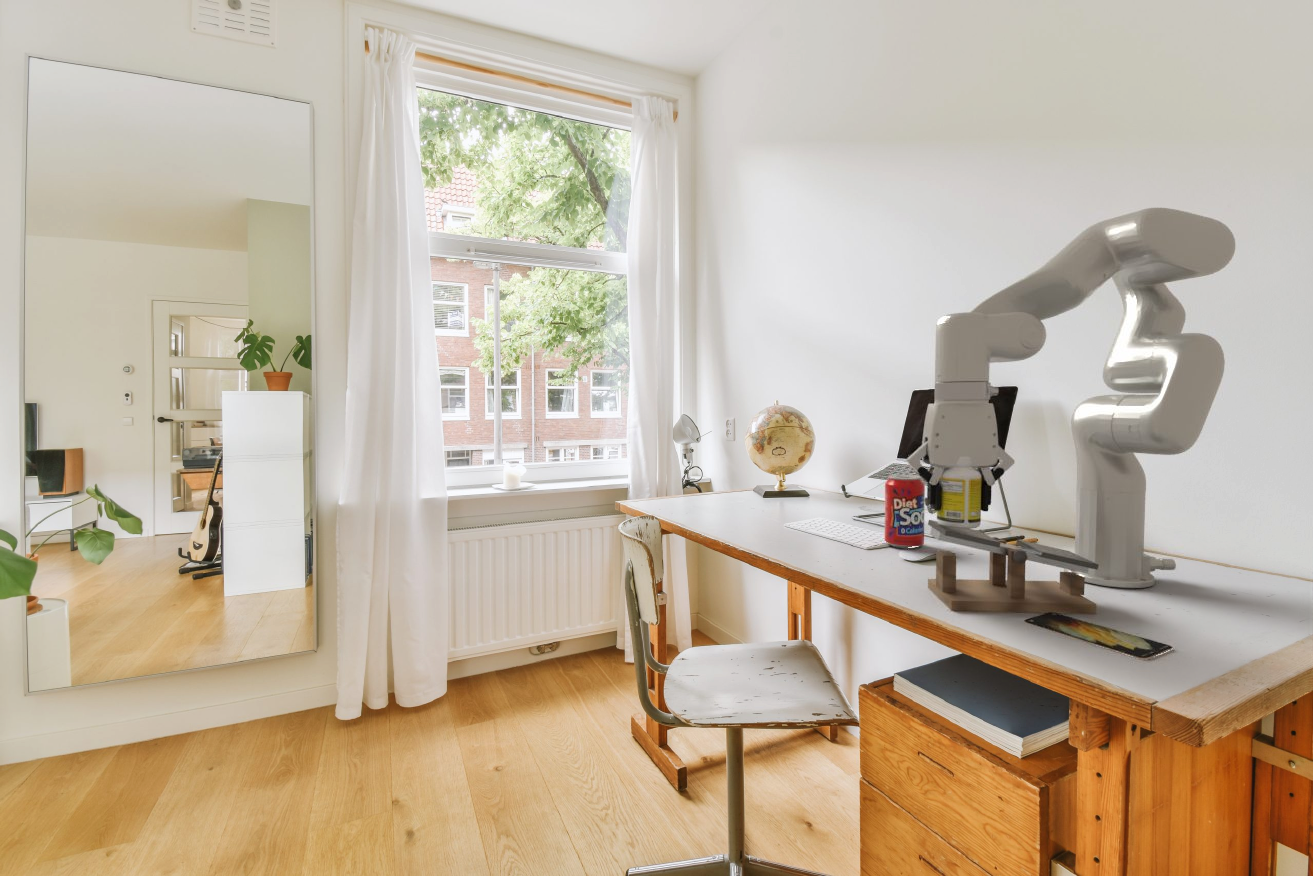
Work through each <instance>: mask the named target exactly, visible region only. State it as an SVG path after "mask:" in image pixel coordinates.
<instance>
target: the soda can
mask: <svg viewBox="0 0 1313 876" xmlns="http://www.w3.org/2000/svg"><path fill="white" fill-rule="evenodd" d="M925 488H926V485H925V484H924V482H923V480H922V477H921V476H920V475H912V474H892V475H888V479H887V480H886V482H885V485H884V541H886V543H887V542H888V543H889V544H888V543H887V544H888V545H889V546H890V547H893V548H897V549H904V548H908V547H912V546H919V547H921V546H923V545H924V543H925V509H926V508H925V507H926V506H925V503H926V501H925V499H926V497H925V495H926V494H925V493H926V491H925Z"/></svg>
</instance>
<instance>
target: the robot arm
mask: <svg viewBox="0 0 1313 876" xmlns="http://www.w3.org/2000/svg"><path fill="white" fill-rule="evenodd" d="M1235 250H1236V239H1235V237H1234V233H1233V232H1232V231H1231V229H1230V228H1229V227H1228V226H1227V225H1226V224H1225V223H1223V222H1221V221H1220V220H1217V219H1214V218H1211V217H1208V216H1204V215H1199V214H1196V213H1193V212H1188V211H1184V210H1180V209H1174V208H1170V207H1169V208H1167V207H1148V208H1147V207H1146V208H1144V209H1140V210H1138V211H1134V212H1130V213H1126V214H1124V215H1123V214H1122V215H1120V216H1116V217H1113V218H1108V219H1105V220H1102V221H1100V222H1097V223H1094V224H1092V225H1090V226H1089V227H1087V228H1086V229H1084V230H1083V231H1082V232H1080V233H1079V234H1078V235H1077V236H1075V238H1073V240H1071V241H1070V242H1069V243H1068V244H1066V246H1064V247H1063V248H1062V249H1061V250H1060V251H1059V252H1058V253H1057V254H1055V255H1054V256H1053V257H1051V259H1049V261H1047V262H1046V263H1045V264H1044V265H1042V266H1041V267H1039V268H1038V269H1037V270H1035V271H1034V272H1031V273H1030V274H1027V275H1026V276H1024V277H1022V278H1020V279H1019V280H1016V282H1013V283H1011V284H1009V286H1007V287H1005V288H1004V289H1001V290H1000V291H998V292H996V293H995V294H993V295H991V296H989V297H988V298H986V299H985V300H983V301H982V302H981V303H979V304H978V305H976V307H974V308H973V309H972V310H971V311H969V312H967V311H966V312H956V313H955V312H954V313H950V314H949V313H948V314H946V315H943V316H941V317H940V318H939V319H938V320H937V322H936V324H935V351H934V352H935V357H934V399H933V400H934V403H928V405H927V409H926V413H925V418H924V426H923V433H922V441H921V445H920V446H919V447H918V448H917V449H916V450H915V451H914V452H913V453H911V454H910V455H909V456H908V457H907V458H906V463H907V465H909V466H910V467H911V468H912V470H914V471H915V472H916V474H918V476H920V477H921V479H923V481H924V482H925V483H926V485H927V486H926V487H927V489H926V500H927V501H926V502H927V505H929V508H930V509H932V510H934V511H935V512H937V511H940V510H941V490H942V487H941V485H939V479H940V477H941V475H942V473H943V471H944V468H953V467H957V461H958V460H959V458H960V457H970V459H971V461H972V464H971V465H972V466H971V467H972V468H975V469H976V470H978V471H979V472H980V474H981V512H988V511H989V506H991V505H992V488H993V487H992V486H994V485H995V484H996V481H998V479H1001V477H1002V476H1003V475H1004V474H1005V472H1007V471H1008V470H1009V469H1010V468H1011V467H1012V466H1013V465H1014V464H1015V460H1014V458H1012V456H1011V455H1009V454H1008V453H1007V451H1005V450H1004V449H1003V448H1002V447H1001V446H1000V445H999V437H998V436H999V434H998V423H997V418H996V412H995V406H994V404H993V402H991V403H989V400H991V397H993V396H998V394H999V391H1000V390H999V387H998V386H993V385H992V384H991V382H990V364H993V363H1012V362H1020V361H1023V360H1027V359H1029V358H1032V357H1033V356H1035V355H1036V354H1038V353H1039V352H1040V351H1041V349H1043V347H1044V345H1045V342H1046V340H1047V330H1046V327H1045V324H1044V322H1043V320H1048V319H1050V318H1053V317H1056V316H1057V317H1058V316H1059V315H1061V314H1064V313H1066V312H1069V311H1071V310H1073V309H1075V308H1077V307H1079V306H1081V305H1082V304H1083V303H1085V301H1087V300H1088V299H1089V298H1090V297H1091V296H1092V295H1093V294H1094V293H1095V292H1097V290H1099V288H1101V286H1103V285H1104V284H1105V283H1106V282H1107V281H1109V280H1110V279H1112V281H1113V282H1114V285H1115V287H1116V289H1117V291H1118V293H1119V296H1120V299H1121V301H1122V305H1123V316H1122V319H1121V321H1120V325H1119V327H1118V330H1117V332H1116V335H1115V338H1114V340H1113V342H1112V345H1111V347H1110V350H1109V352H1108V354H1107V357H1106V360H1105V362H1104V365H1103V368H1102V369H1103V370H1102V379H1103V383H1104V384H1105V385H1106V387H1108V388H1109V389H1111V390H1113V391H1114V392H1115V391H1116V392H1120V393H1125V394H1105V395H1096V396H1092V397H1090V398H1087V399H1085V400H1083V401H1081V402H1080V403H1078V405H1077V406H1076V407H1075V408H1074V410H1073V412H1072V415H1071V419H1070V425H1071V426H1070V427H1071V429H1070V430H1071V433H1072V438H1073V439H1072V440H1073V443H1074V448H1075V454H1076V456H1075V457H1076V491H1075V492H1076V494H1075V496H1076V499H1075V527H1074V529H1075V531H1074V539H1075V540H1074V554H1077V555H1079V556H1081V557H1083V558H1085V559H1088V560H1090V561H1092V562H1094V563H1096V564H1099V566H1098V570H1096V569H1091V568H1089V570H1088V573H1087V574H1086V573H1082V572H1078V571H1073V570H1069V569H1064V568H1063V572H1075V573H1077V574H1079V575H1080V576H1082V577H1084V578H1085V583H1088V584H1093V585H1098V586H1103V587H1111V588H1119V589H1121V588H1122V589H1145V588H1149V587H1152V586H1154V585H1155V583H1156V581H1155V580H1156V579H1155V575H1153V574H1151V572H1153V573H1154V572H1155V571H1156V570H1161V571H1175V570H1176V567H1177V563H1176V561H1175V560H1174V559H1173V558H1157V557H1156V556H1151V555H1148V554H1146V553H1144V550H1145V549H1144V548H1145V520H1146V518H1145V517H1146V491H1147V479H1146V473H1145V471H1144V468H1143V466H1142V465H1141V462H1140V461H1139V459H1138V457H1136V454H1146V455H1160V456H1161V455H1163V456H1171V455H1172V456H1175V455H1179V454H1182V453H1185V452H1187V451H1188V450H1190V449H1192V447H1193V446H1194V445H1195V443H1197V441H1198V439H1199V438H1200V435H1201V433H1202V431H1203V428H1204V426H1205V424H1206V421H1207V418H1208V416H1209V413H1210V411H1211V408H1212V407H1213V406H1212V405H1213V402H1214V401H1215V398H1216V396H1217V392H1218V391H1219V388H1220V385H1221V383H1222V379H1223V377H1224V373H1225V363H1226V361H1225V354H1224V351H1223V348H1222V346H1221V344H1220V343H1219V342H1218V340H1217V339H1216V338H1215V337H1212V336H1211V335H1208V334H1205V333H1200V332H1187V333H1182V331H1183V328H1184V326H1185V322H1186V316H1187V315H1186V310H1185V308H1184V306H1183V305H1182V303H1181V302H1180V301H1179V299H1178V298H1177V296H1175V295H1174V294H1173V293H1172V292H1171V290H1170V288H1169V287H1168V286H1167V285H1166V283H1171V282H1177V281H1182V280H1183V281H1184V280H1189V279H1190V280H1191V279H1195V278H1200V277H1201V278H1202V277H1205V276H1210V275H1213V274H1215V273H1218V272H1219V271H1221V270H1222V269H1224V268H1226V266H1227V265H1229V263H1230V262H1231V261H1232V259H1233V257H1234V255H1235ZM1126 393H1128V394H1126ZM921 460H922V462H923V463H925V464H928V465H929V468H928V469H927V468H926V467H925V466H924V465H923V464H922V463H921ZM998 460H999V462H998Z"/></svg>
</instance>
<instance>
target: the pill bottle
mask: <svg viewBox="0 0 1313 876" xmlns="http://www.w3.org/2000/svg"><path fill="white" fill-rule="evenodd" d="M971 464H972V461H971V459H970V457H960V458H959V460H958V461H957V467H953V468H944V471H943V473H942V475H941V477H940V479H939V485H941V487H942V490H941V510H940V511H936V521H937V522H938V523H939V524H940V525H942V526H945V527H950V528H962V529H976V528H978V527H980V526H981V520H982V518H981V517H982V516H981V515H982V510H981V474H980V472H979V471H978V470H976V469H975V468H972V467H971V466H972V465H971Z"/></svg>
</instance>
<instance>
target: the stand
mask: <svg viewBox="0 0 1313 876" xmlns="http://www.w3.org/2000/svg"><path fill="white" fill-rule="evenodd" d="M991 538H993V539H995V540H997V541H999V542H1001V543H1005V544H1007V541H1006V540H1005V539H1000V538H999V537H997V536H996V537H995V536H994V537H991ZM935 554H936V556H935V557H936V558H935V560H936V561H935V578H927V588H928V589H929V591H931V592H932V593H933V594H934V595H935V596H936V597H937V598H938V599H939V600H940V602H942V603H943V604H944V605H945V606H946V607H947V608H949V610H950V611H954V612H955V611H956V612H957V611H958V612H995V613H996V612H999V613H1002V612H1003V613H1033V614H1034V613H1035V614H1036V613H1039V614H1041V613H1043V614H1045V613H1049V612H1053V613H1058V614H1078V615H1079V614H1081V615H1083V614H1084V615H1096V614H1097V602H1096V603H1095V602H1094V601H1091V600H1090V599H1088V598H1086V597H1085V583H1086V582H1085V578H1084V577H1082V576H1080V575H1079V574H1077V573H1075V572H1064V571H1059V582H1058V581H1056V580H1026V561H1028V560H1027V554H1026V551H1024V550H1022V549H1008V556H1007V555H1003V554H998V553H994V552H990V551H989V576H988V577H989V578H988V579H965V578H964V579H961V578H959V579H957V555H956V554H955V553H953V552H952V551H951V550H936V553H935Z"/></svg>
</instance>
